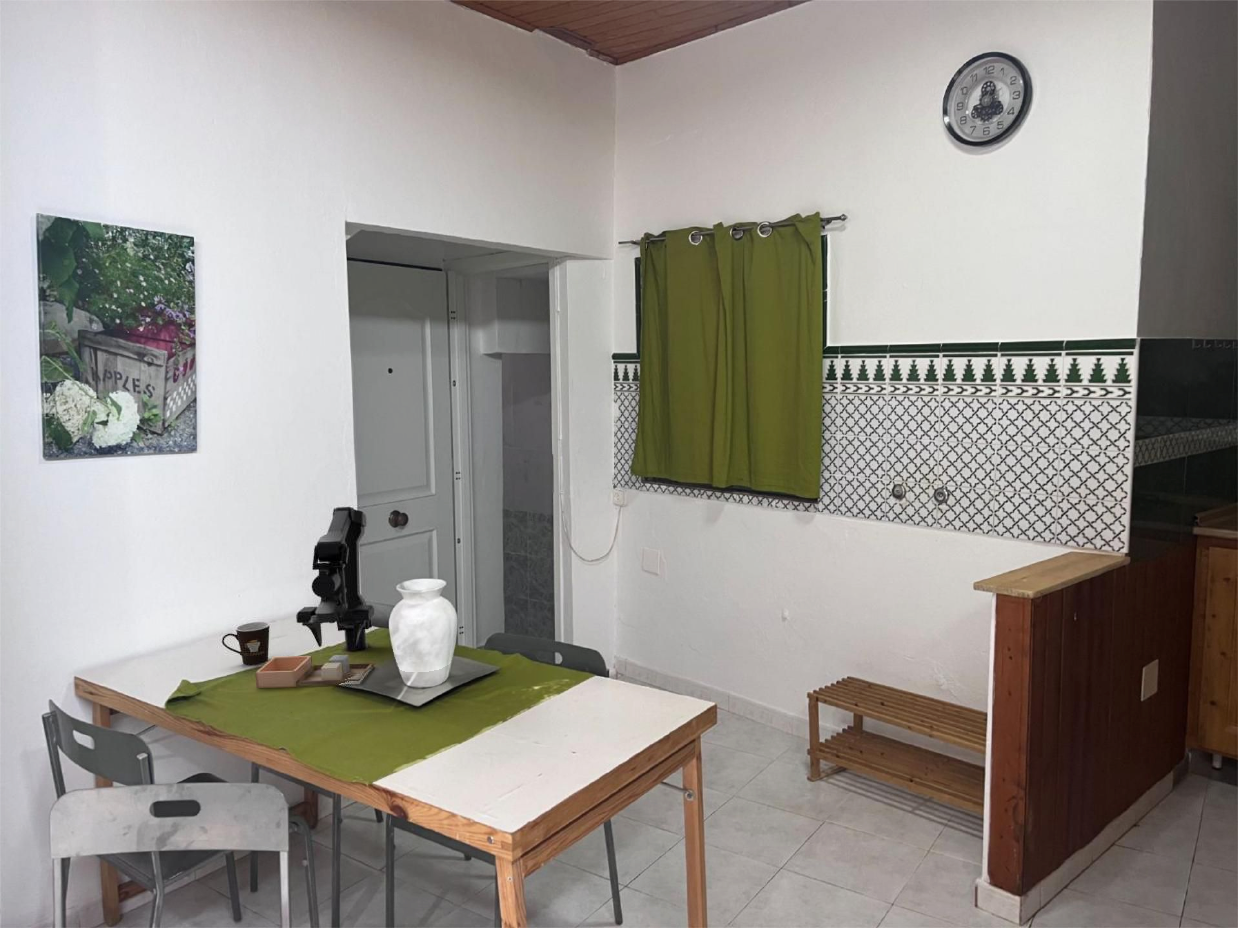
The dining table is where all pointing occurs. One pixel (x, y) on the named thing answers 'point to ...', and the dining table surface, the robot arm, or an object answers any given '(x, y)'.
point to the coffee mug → (252, 642)
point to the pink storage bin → (282, 671)
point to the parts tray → (314, 679)
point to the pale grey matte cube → (341, 659)
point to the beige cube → (331, 671)
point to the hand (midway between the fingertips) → (337, 645)
